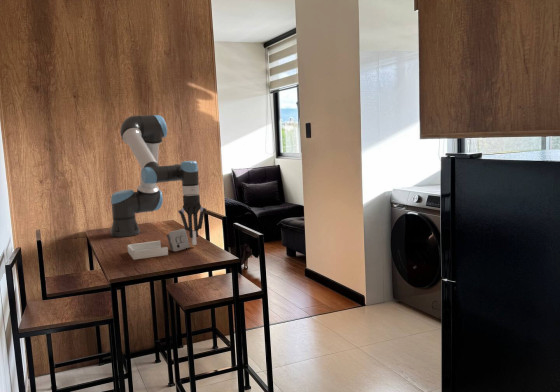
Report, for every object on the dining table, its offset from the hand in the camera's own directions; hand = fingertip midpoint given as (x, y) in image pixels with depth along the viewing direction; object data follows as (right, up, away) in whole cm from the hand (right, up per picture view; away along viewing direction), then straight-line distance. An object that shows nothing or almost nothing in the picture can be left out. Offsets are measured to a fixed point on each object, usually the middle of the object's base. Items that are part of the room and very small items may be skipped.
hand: (194, 244), depth 249 cm
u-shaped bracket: (-20, -3, -9) cm, 22 cm away
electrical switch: (-7, -2, -3) cm, 8 cm away
